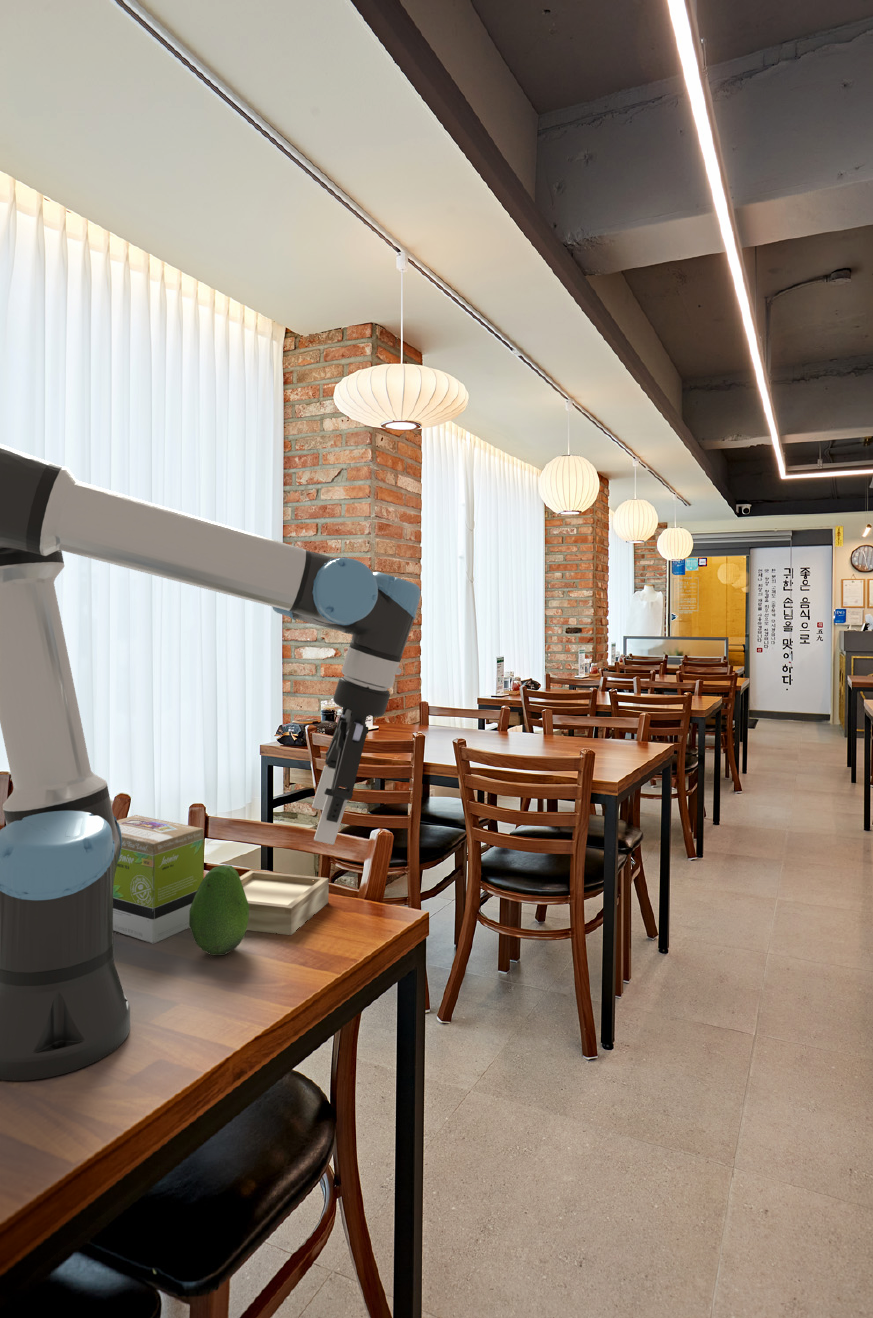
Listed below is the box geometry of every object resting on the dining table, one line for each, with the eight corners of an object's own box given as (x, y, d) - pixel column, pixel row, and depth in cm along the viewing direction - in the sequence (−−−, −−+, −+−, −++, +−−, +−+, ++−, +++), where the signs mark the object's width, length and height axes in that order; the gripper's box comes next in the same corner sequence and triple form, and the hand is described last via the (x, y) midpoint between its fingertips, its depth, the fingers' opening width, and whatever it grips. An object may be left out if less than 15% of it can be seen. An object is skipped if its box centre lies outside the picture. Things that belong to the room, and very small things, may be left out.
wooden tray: (291, 935, 110) (291, 907, 110) (205, 924, 114) (205, 898, 114) (328, 902, 124) (328, 878, 124) (250, 893, 127) (250, 870, 127)
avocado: (257, 942, 108) (257, 858, 107) (234, 966, 100) (235, 876, 99) (204, 938, 109) (204, 855, 108) (177, 961, 101) (177, 872, 101)
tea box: (81, 925, 113) (81, 826, 113) (136, 904, 122) (136, 812, 122) (153, 945, 106) (153, 841, 106) (206, 922, 115) (206, 825, 115)
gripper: (403, 707, 95) (353, 864, 97) (381, 676, 120) (342, 803, 121) (346, 690, 94) (296, 851, 95) (335, 663, 118) (296, 791, 120)
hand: (322, 824), depth 108 cm, fingers open, 13 cm apart
